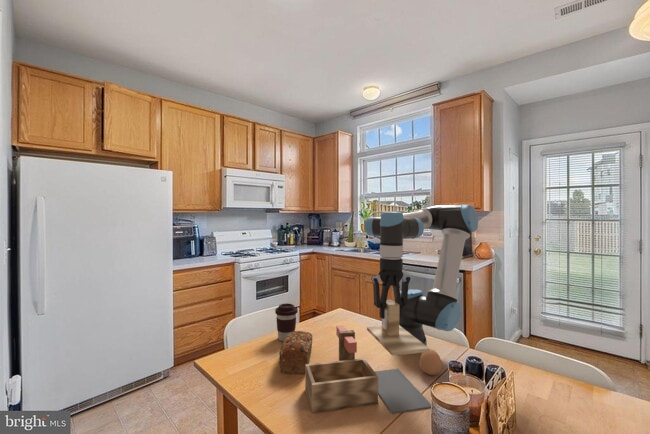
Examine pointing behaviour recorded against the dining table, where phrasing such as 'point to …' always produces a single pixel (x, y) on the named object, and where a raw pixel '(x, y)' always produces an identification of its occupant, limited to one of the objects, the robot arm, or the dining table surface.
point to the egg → (430, 362)
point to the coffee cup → (285, 320)
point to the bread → (295, 352)
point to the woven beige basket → (341, 382)
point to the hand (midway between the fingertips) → (390, 327)
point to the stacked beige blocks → (396, 334)
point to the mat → (399, 392)
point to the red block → (347, 340)
